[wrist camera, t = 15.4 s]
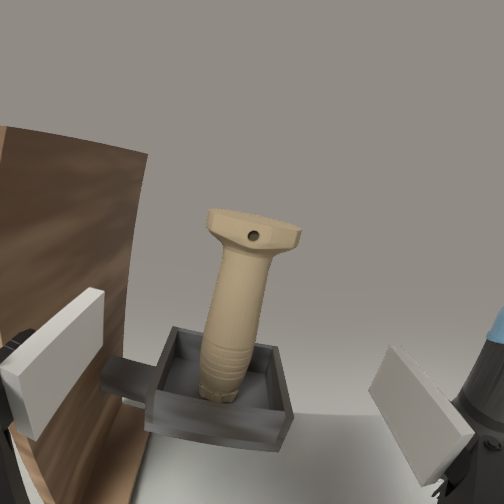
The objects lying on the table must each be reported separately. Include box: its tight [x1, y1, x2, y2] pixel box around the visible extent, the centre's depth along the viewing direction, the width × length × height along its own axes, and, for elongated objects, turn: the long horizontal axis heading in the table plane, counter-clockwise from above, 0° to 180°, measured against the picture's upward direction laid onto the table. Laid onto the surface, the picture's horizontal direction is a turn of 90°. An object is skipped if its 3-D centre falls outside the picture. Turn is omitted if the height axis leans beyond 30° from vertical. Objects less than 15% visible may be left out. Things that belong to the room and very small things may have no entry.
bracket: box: [0, 126, 294, 504], centre depth 20 cm, size 16×18×28 cm
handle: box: [199, 208, 302, 403], centre depth 23 cm, size 5×6×15 cm
